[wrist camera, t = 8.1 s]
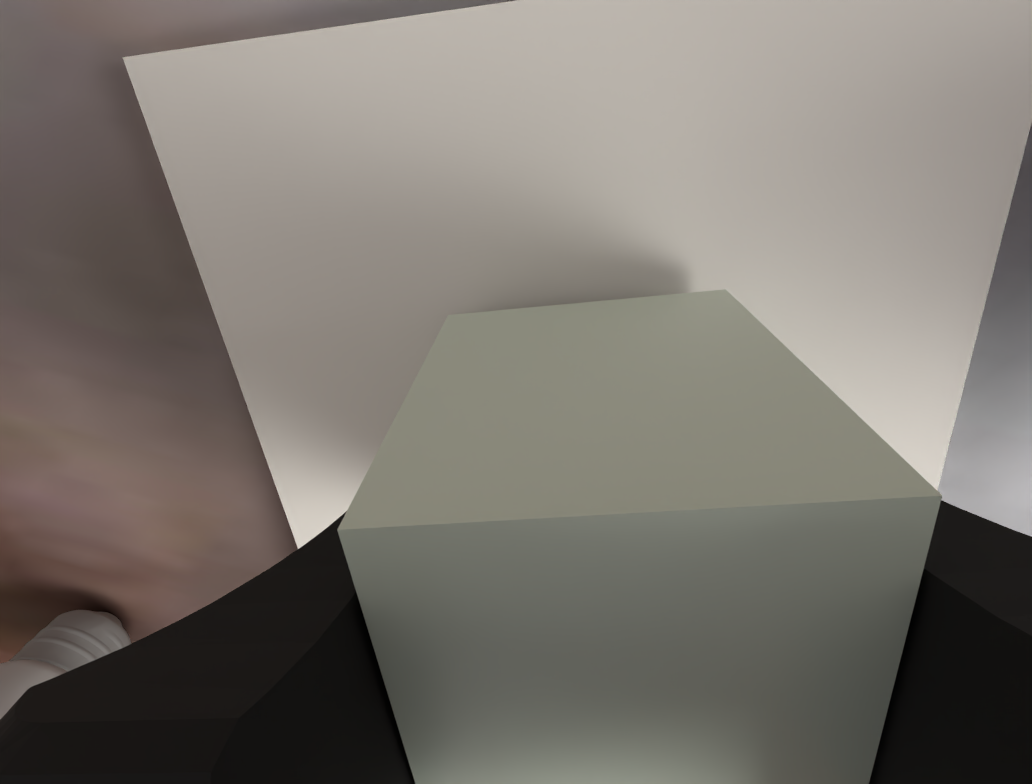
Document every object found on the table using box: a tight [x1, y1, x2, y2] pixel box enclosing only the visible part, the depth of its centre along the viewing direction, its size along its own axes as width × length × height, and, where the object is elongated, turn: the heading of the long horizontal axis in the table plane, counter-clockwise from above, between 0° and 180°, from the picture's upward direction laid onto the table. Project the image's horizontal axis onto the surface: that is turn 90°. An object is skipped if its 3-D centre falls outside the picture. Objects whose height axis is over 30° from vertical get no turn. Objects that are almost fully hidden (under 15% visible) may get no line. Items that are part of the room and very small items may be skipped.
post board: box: [123, 0, 1032, 549], centre depth 11 cm, size 16×16×6 cm
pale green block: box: [337, 289, 942, 784], centre depth 9 cm, size 5×5×7 cm
